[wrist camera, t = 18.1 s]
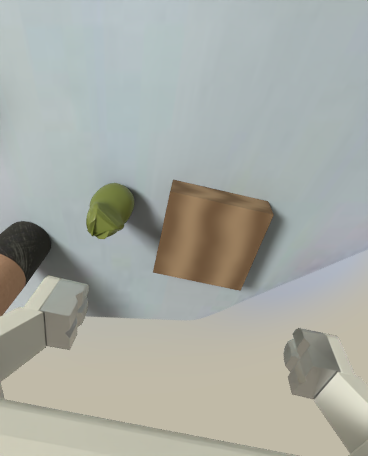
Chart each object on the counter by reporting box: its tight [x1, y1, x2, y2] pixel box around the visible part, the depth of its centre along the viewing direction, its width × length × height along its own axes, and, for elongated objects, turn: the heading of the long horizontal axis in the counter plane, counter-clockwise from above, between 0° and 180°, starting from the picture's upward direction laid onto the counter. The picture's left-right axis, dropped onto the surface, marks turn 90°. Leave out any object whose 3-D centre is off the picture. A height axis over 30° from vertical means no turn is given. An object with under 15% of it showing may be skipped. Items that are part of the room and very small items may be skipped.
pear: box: [86, 183, 134, 239], centre depth 39 cm, size 6×5×10 cm
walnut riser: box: [153, 180, 274, 290], centre depth 44 cm, size 14×14×4 cm
